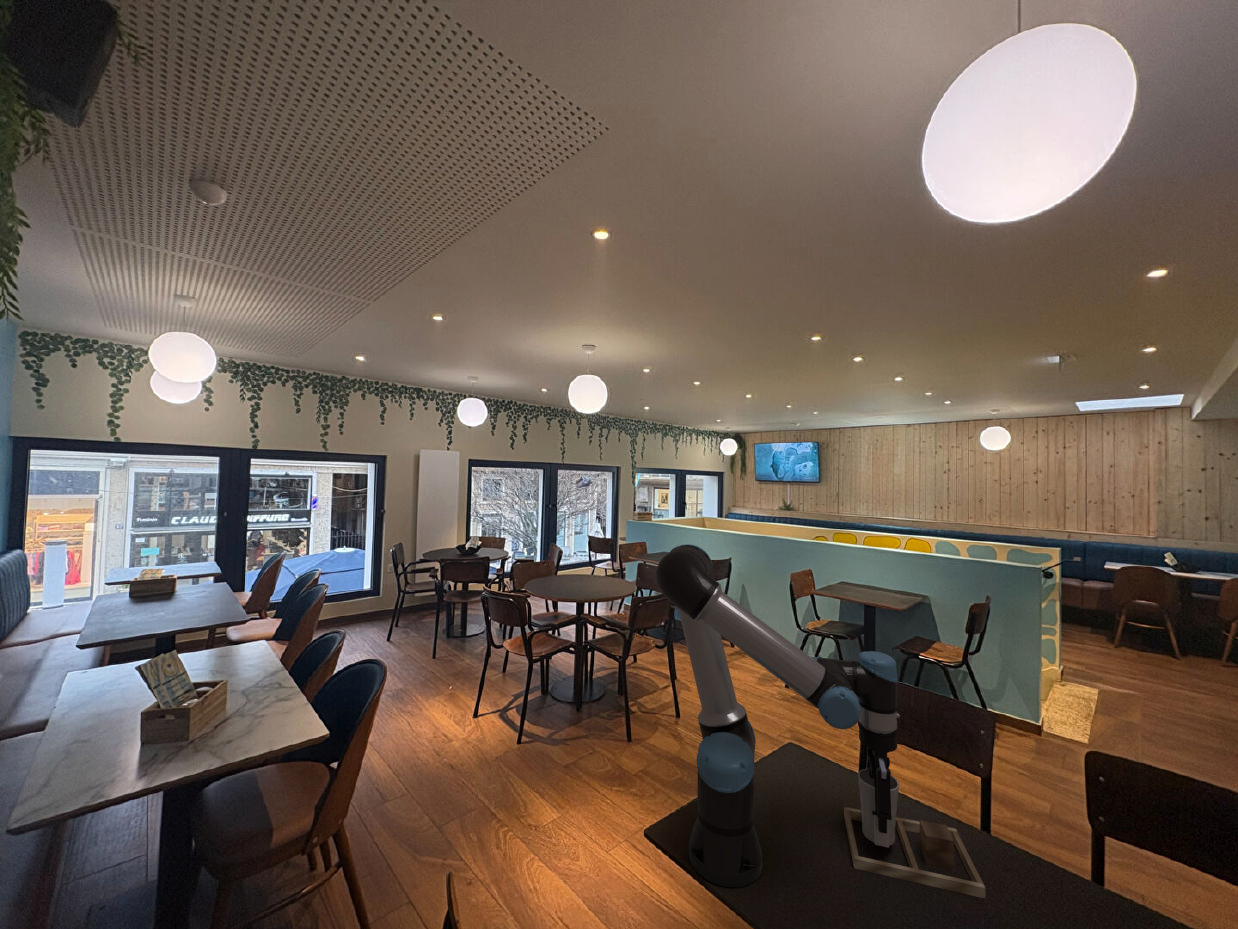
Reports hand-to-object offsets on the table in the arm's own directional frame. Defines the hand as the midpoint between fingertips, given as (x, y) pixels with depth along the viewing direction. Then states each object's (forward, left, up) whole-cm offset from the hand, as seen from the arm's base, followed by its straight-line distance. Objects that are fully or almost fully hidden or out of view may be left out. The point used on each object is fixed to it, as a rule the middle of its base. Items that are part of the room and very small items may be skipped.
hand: (878, 832), depth 109 cm
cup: (0, 0, -1) cm, 1 cm away
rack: (+6, 0, -3) cm, 6 cm away
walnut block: (+11, 0, -3) cm, 12 cm away
